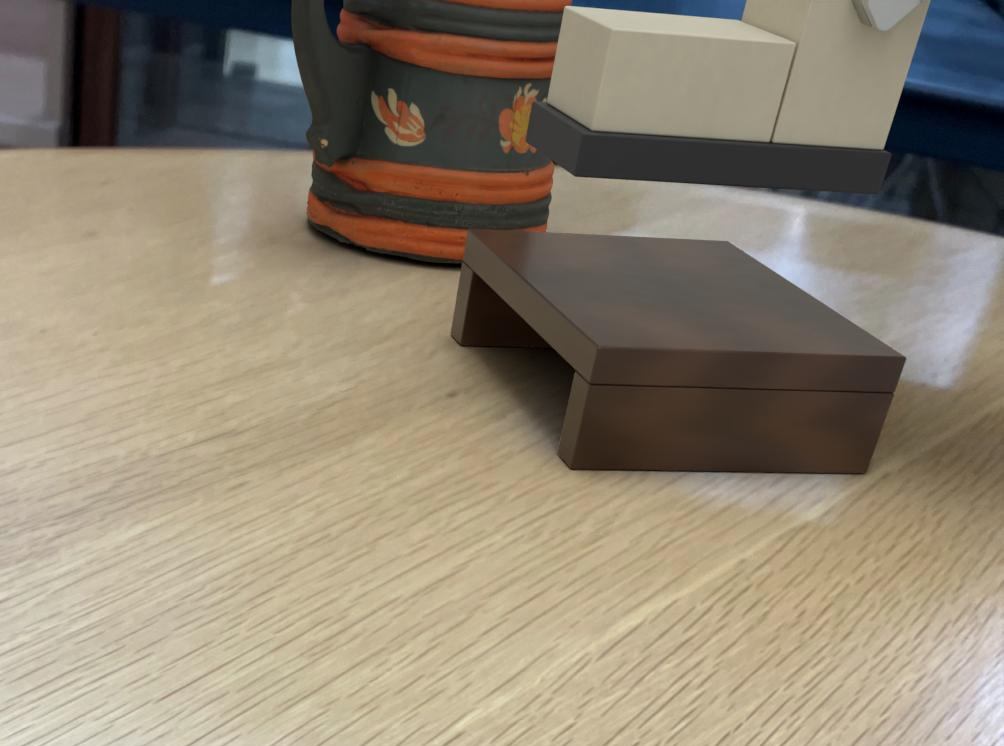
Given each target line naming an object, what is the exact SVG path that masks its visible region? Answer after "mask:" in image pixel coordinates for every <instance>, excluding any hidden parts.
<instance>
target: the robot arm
mask: <svg viewBox="0 0 1004 746" xmlns="http://www.w3.org/2000/svg"><path fill="white" fill-rule="evenodd" d="M851 1H852V3H853V6H854V8H855V9H856V11H857V15H858V17H859V19H860V21H861V23H863V24H864V25H866V26H869V27H871V28H874V29H877V30H880V31H887V30H889V29H891V28H892V27H893V26H895V25H896V24H897V23H898V22H899V21H900V20H901V19H903V18H904V17H905V16H906V15H907V14H908V13H910V12H911V11H912V10H913V9H914V8H915V7H916V6H918V5H919V4H920V3H921V2H925V1H927V0H851Z"/></svg>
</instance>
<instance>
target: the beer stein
mask: <svg viewBox="0 0 1004 746" xmlns="http://www.w3.org/2000/svg"><path fill="white" fill-rule="evenodd" d="M572 3H573V0H343V1H342V5H343V7H342V9H341V11H340V13H339V19H340V22H339V24H338V25H337V27H336V35H337V37H338V39H337V38H336V37H335V35H334V34H333V32H332V30H331V27H330V24H329V21H328V19H327V13H326V9H325V0H291V13H290V16H291V18H290V19H291V32H292V34H291V35H292V42H293V43H292V44H293V50H294V56H295V60H296V64H297V68H298V74H299V77H300V80H301V83H302V87H303V91H304V93H305V96H306V99H307V102H308V106H309V109H310V112H311V119H312V120H311V124H310V125H309V127H308V128H307V130H306V132H305V138H306V141H307V143H308V145H309V146H310V148H311V149H312V164H311V172H310V173H311V179H312V183H311V185H310V187H309V189H308V192H307V193H308V194H307V202H306V205H307V206H306V216H307V221H308V222H309V224H310V225H311V226H312V227H314V228H315V229H316V230H317V231H320V232H321V233H323V234H325V235H327V236H329V237H331V238H333V239H335V240H338V242H339V243H340V242H341V243H344V244H345V243H346V245H347V244H353V245H354V246H355V247H356V248H357V246H358V247H359V248H362V249H366V251H370V252H373V253H378V254H387V255H389V256H397V257H398V256H399V257H404V258H408V259H411V260H416V261H422V262H428V263H429V262H430V263H439V264H462V262H463V256H464V249H465V243H466V237H467V231H468V229H470V228H471V229H492V230H512V231H532V232H547V228H548V220H549V217H550V204H551V202H552V198H553V196H552V192H551V191H552V188H553V185H554V177H553V175H554V173H555V164H554V161H552V160H551V159H549V158H548V157H546V156H545V155H544V154H542V153H541V152H539V151H538V150H537V149H535V148H534V147H532V146H531V145H529V144H528V143H527V142H526V141H525V140H526V134H527V129H528V123H529V118H530V112H531V107H532V103H533V102H534V101H538V102H547V98H548V93H549V88H550V82H551V77H552V72H553V66H554V61H555V55H556V50H557V45H558V39H559V34H560V29H561V23H562V18H563V13H564V8H565V6H572Z"/></svg>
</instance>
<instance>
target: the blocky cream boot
mask: <svg viewBox="0 0 1004 746" xmlns="http://www.w3.org/2000/svg"><path fill="white" fill-rule="evenodd" d="M930 4H931V0H927V1H925V2H921V3H920V4H919V5H918V6H916V7H915V8H914V9H913V10H912V11H911V12H910V13H908V14H907V15H906V16H905V17H904V18H903V19H901V20H900V21H899V22H898V23H897V24H896V25H895V26H893V27H892V28H891V29H889V30H887V31H880V30H877V29H874V28H871V27H869V26H866V25H864V24H863V23H861V21H860V19H859V17H858V15H857V11H856V9H855V8H854V6H853V3H852V1H851V0H746V2H745V5H744V10H743V14H742V17H741V20H739V19H731V18H718V17H706V16H696V15H695V16H694V15H683V14H672V13H671V14H670V13H658V12H646V11H634V10H625V9H623V10H621V9H610V8H599V7H598V8H597V7H586V6H573V5H570V6H565V8H564V13H563V18H562V23H561V29H560V34H559V39H558V45H557V50H556V55H555V61H554V66H553V72H552V77H551V82H550V88H549V93H548V98H547V102H538V101H534V102H533V103H532V107H531V112H530V118H529V123H528V129H527V134H526V140H525V141H526V142H527V143H528V144H529V145H531V146H532V147H534V148H535V149H537V150H538V151H539V152H541V153H542V154H544V155H545V156H546V157H548V158H549V159H551V161H552V162H553V163H555V164H556V165H557V166H559V167H561V168H562V169H563V170H564V171H566V172H567V173H569V174H571V175H572V176H573V177H576V178H589V179H590V178H591V179H604V180H605V179H607V180H622V181H623V180H624V181H641V182H658V183H672V184H673V183H674V184H675V183H676V184H691V185H708V186H724V187H741V188H756V189H757V188H758V189H759V188H760V189H775V190H790V191H793V190H794V191H807V192H808V191H811V192H824V193H825V192H827V193H841V194H843V193H844V194H859V195H875V196H877V195H879V194H880V192H881V189H882V186H883V183H884V180H885V176H886V173H887V170H888V168H889V164H890V161H891V158H892V153H891V152H889V151H888V150H885V146H886V142H887V139H888V136H889V134H890V131H891V127H892V124H893V121H894V117H895V115H896V111H897V108H898V105H899V102H900V99H901V96H902V93H903V89H904V86H905V83H906V80H907V76H908V73H909V70H910V67H911V64H912V61H913V57H914V55H915V51H916V48H917V45H918V42H919V39H920V36H921V32H922V29H923V26H924V22H925V20H926V16H927V13H928V11H929V7H930Z"/></svg>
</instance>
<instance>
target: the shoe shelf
mask: <svg viewBox="0 0 1004 746" xmlns="http://www.w3.org/2000/svg"><path fill="white" fill-rule="evenodd" d="M454 303H455V304H454V309H453V316H452V321H451V328H450V335H451V336H452V337H453V339H454V340H455V341H456V342H457V343H458V345H460V346H472V347H473V346H474V347H475V346H476V347H503V348H504V347H505V348H506V347H507V348H533V349H534V348H537V347H539V348H537V349H553V350H555V351H556V353H557V354H559V355H560V356H561V358H563V360H564V361H566V362H567V363H568V364H569V365H570V367H572V368H573V369H574V370H575V371H574V374H573V379H572V383H571V388H570V391H569V397H568V400H567V405H566V411H565V415H564V419H563V425H562V429H561V434H560V438H559V443H558V448H557V452H556V453H557V455H558V456H559V457H560V459H562V460H563V462H564V463H565V464H566V466H568V467H569V468H570V469H571V470H616V471H617V470H621V471H622V470H623V471H625V470H627V471H631V470H632V471H679V472H680V471H682V472H684V471H688V472H690V471H691V472H746V473H747V472H749V473H750V472H751V473H752V472H753V473H755V472H756V473H807V474H808V473H810V474H811V473H812V474H814V473H815V474H867V473H868V470H869V467H870V464H871V461H872V458H873V456H874V453H875V450H876V448H877V445H878V441H879V439H880V436H881V433H882V430H883V428H884V425H885V421H886V419H887V416H888V414H889V410H890V407H891V405H892V402H893V399H894V396H895V392H896V390H897V386H898V384H899V382H900V378H901V376H902V373H903V370H904V367H905V364H906V363H907V356H905V355H904V354H902V353H901V352H899V351H897V350H896V349H894V348H893V347H891V346H890V345H888V344H886V343H885V342H883V341H882V340H880V339H879V338H878V337H876V336H874V335H873V334H872V333H870V332H868V331H866V329H864V328H862V327H860V326H859V325H858V324H856V323H854V322H853V321H851V320H850V319H849V318H847V317H845V316H844V315H842V314H841V313H839V312H838V311H836V310H834V309H833V308H831V307H830V306H828V305H827V304H825V303H824V302H823V301H821V300H819V299H817V298H816V297H814V296H813V295H811V294H810V293H809V292H807V291H805V290H803V289H802V288H801V287H799V286H797V285H796V284H795V283H793V282H792V281H790V280H788V279H787V278H785V277H784V276H782V275H780V274H779V273H778V272H776V271H774V270H773V269H772V268H770V267H769V266H767V265H766V264H764V263H762V262H761V261H759V260H757V259H756V258H754V257H753V256H751V255H750V254H749V253H747V252H745V251H744V250H742V249H741V248H739V247H737V246H736V245H734V244H733V243H732V242H729V240H713V239H712V240H711V239H695V238H694V239H693V238H676V237H675V238H671V237H653V236H652V237H650V236H635V235H634V236H633V235H632V236H631V235H611V234H594V233H593V234H590V233H571V232H551V231H550V232H549V231H546V232H532V231H512V230H492V229H471V228H470V229H468V231H467V237H466V243H465V249H464V256H463V262H462V263H461V267H460V273H459V279H458V286H457V291H456V297H455V302H454ZM542 347H543V348H542ZM547 347H548V348H547Z"/></svg>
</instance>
